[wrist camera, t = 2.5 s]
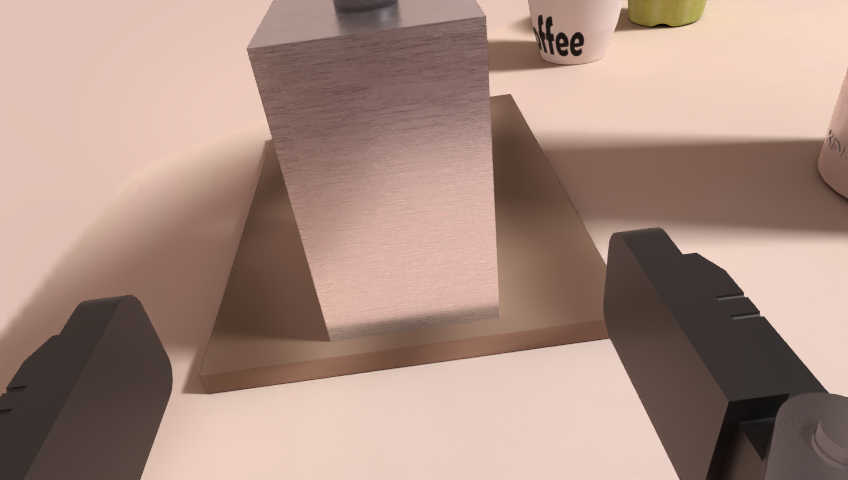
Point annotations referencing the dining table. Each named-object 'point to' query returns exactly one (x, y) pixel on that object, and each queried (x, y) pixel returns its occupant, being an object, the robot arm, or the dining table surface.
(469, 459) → the dining table surface
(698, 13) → the plant pot
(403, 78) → the steel cover
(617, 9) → the cup
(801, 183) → the dining table surface
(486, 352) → the walnut board
